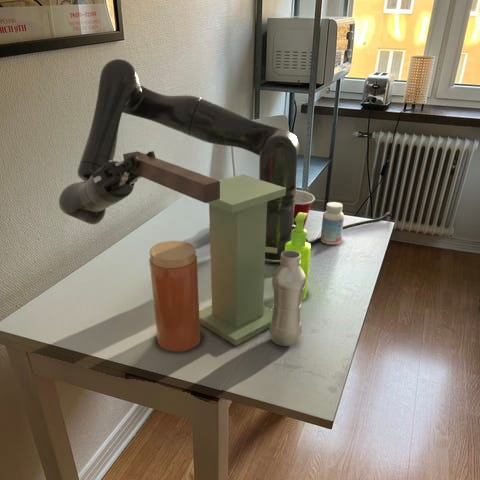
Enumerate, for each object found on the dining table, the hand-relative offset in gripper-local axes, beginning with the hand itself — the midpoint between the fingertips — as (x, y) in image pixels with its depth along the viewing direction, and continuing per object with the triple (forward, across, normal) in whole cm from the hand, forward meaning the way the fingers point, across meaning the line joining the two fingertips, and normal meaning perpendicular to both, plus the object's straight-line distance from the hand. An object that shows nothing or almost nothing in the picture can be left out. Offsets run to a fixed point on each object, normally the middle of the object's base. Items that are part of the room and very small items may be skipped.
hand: (145, 158), depth 89 cm
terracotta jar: (-11, -1, +35) cm, 37 cm away
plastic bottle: (+3, +15, +43) cm, 45 cm away
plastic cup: (-30, +60, +24) cm, 71 cm away
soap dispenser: (-8, +32, +37) cm, 49 cm away
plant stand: (-8, +13, +36) cm, 40 cm away
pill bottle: (-20, +63, +30) cm, 73 cm away
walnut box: (+5, 0, +6) cm, 8 cm away
